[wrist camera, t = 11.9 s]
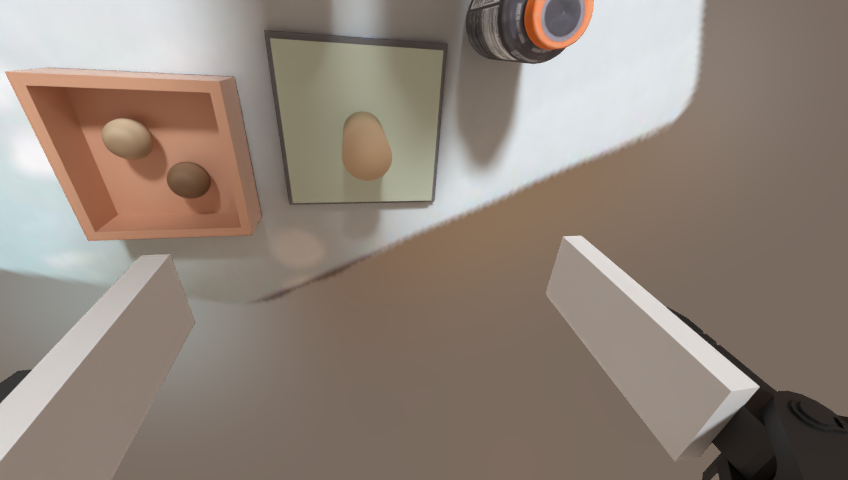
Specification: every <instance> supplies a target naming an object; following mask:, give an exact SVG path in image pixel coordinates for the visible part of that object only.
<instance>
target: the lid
mask: <svg viewBox="0 0 848 480" xmlns="http://www.w3.org/2000/svg"><path fill="white" fill-rule="evenodd" d="M270 43H271V50H272V57H273V64H274V71H275V78H276V86H277V93H278V100H279V107H280V114H281V121H282V129H283V136H284V143H285V150H286V157H287V164H288V172H289V179H290V186H291V193H292V200H293V203H327V202H380V201H432V188H433V176H434V163H435V150H436V138H437V125H438V112H439V100H440V87H441V75H442V62H443V50H431V49H417V48H403V47H388V46H374V45H360V44H346V43H331V42H317V41H303V40H289V39H274V38H270Z"/></svg>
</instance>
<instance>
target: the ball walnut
mask: <svg viewBox="0 0 848 480" xmlns="http://www.w3.org/2000/svg"><path fill="white" fill-rule="evenodd" d="M167 184H168V186H169V188H170V189H171V190H172V191H173V192H174V193H175V194H176V195H178V196H180V197H183V198H188V199H194V198H198V197H201V196H203V195H204V194H205V193H207V191H208V190H209V188H210V185H211V179H210V176H209V174H208V172H207V171H206V170H205V169H204V168H203V167H202V166H200V165H198V164H196V163H193V162H180V163H177V164H175V165H174V166H172V167H171V168H170V169H169V171H168V173H167Z"/></svg>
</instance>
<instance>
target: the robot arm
mask: <svg viewBox="0 0 848 480" xmlns="http://www.w3.org/2000/svg"><path fill="white" fill-rule="evenodd" d="M546 295H547V297H548V298H549V299H550V301H551V302H552V303H553V304H554V306H555V307H556V308H557V309H558V311H559V312H560V313H561V315H562V316H563V317H564V319H565V320H566V321H567V323H568V324H569V325H570V326H571V328H572V329H573V330H574V332H575V333H576V334H577V335H578V337H579V338H580V339H581V341H582V342H583V343H584V344H585V346H586V347H587V348H588V350H589V351H590V352H591V354H592V355H593V356H594V357H595V359H596V360H597V361H598V363H599V364H600V365H601V366H602V368H603V369H604V370H605V372H606V373H607V374H608V375H609V377H610V378H611V379H612V381H613V382H614V383H615V384H616V386H617V387H618V388H619V390H620V391H621V392H622V394H623V395H624V396H625V397H626V399H627V400H628V401H629V403H630V404H631V405H632V407H633V408H634V409H635V410H636V412H637V413H638V414H639V416H640V417H641V418H642V419H643V421H644V422H645V423H646V425H647V426H648V427H649V428H650V429H651V431H652V432H653V434H654V435H655V436H656V437H657V439H658V440H659V441H660V443H661V444H662V445H663V447H664V448H665V449H666V450H667V452H668V453H669V454H670V456H671V457H672V458H673V460H674V461H675V462H676V461H681V460H685V459H690V458H695V457H700V456H701V455H702V454H703V453H704V451H705V450H706V449H707V448H708V447H709V445H710V444H711V443H713V444H714V445H715V446H716V447H717V448H718V449H719V450H720V451H721V454H720V455H719V456H718V457H717V458H716V459H715V460H714V461H713V462H712V464H711V465H710V466H709V467H708V468H707V469H706V470H705V471H704V472H703V478H702V480H711V479H712V477H713V476H714V475H715V474H716V473H718V474H719V480H848V417H844V416H838V415H836V414H835V413H834V412H833V411H831V410H830V409H828V408H827V407H825V406H823V405H822V404H820V403H819V402H817V401H815V400H812V399H810V398H808V397H806V396H804V395H802V394H798V393H794V392H790V391H778V392H777V391H775V390H774V389H773V388H771V387H770V386H769V385H768V384H767V383H765V382H764V381H763V380H762V379H760V378H759V377H758V376H757V375H756V374H754V373H753V372H752V371H751V370H749V369H748V368H747V367H746V366H745V365H743V364H742V363H741V362H740V361H739V360H737V359H736V358H735V357H733V355H731V354H730V353H729V352H727V351H726V350H725V349H724V348H723V347H722V346H720V345H717V344H716V341H714V340H713V339H712V338H711V337H709V336H708V335H707V334H704V333H703V331H702V330H701V329H700V328H698V327H697V326H696V325H695V324H694V323H693V322H691V321H690V320H689V319H688V318H686V317H684V316H682V315H681V314H679V313H677V312H675V311H674V310H672V309H670V308H668V307H665V306H664V305H663V304H661V303H660V302H659V301H658V300H657V299H655V298H654V297H653V296H652V295H651V294H650V293H648V292H647V291H646V290H644V288H642V287H641V286H640V285H639V284H638V283H637V282H635V281H634V280H633V279H632V278H631V277H629V276H628V275H627V274H626V273H625V272H624V271H622V270H621V269H620V268H619V267H618V266H616V265H615V264H614V263H613V262H612V261H610V260H609V259H608V258H607V257H606V256H605V255H603V254H602V253H601V252H600V251H599V250H597V249H596V248H595V247H594V246H593V245H592V244H590V243H589V242H588V241H587V240H586V239H584V238H583V237H582V236H566V237H563V239H562V242H561V246H560V249H559V252H558V255H557V258H556V262H555V265H554V268H553V272H552V274H551V278H550V281H549V284H548V288H547V291H546ZM194 324H195V320H194V317H193V315H192V312H191V309H190V307H189V304H188V301H187V298H186V296H185V293H184V290H183V288H182V285H181V282H180V279H179V277H178V274H177V271H176V268H175V266H174V263H173V260H172V258H171V255H170V254H159V255H141V256H140V257H139V258H138V259H137V260H136V261H135V262H134V263H133V264H132V265H131V266H130V267H129V269H128V270H127V271H126V272H125V273H124V274H123V275H122V276H121V277H120V278H119V279H118V280H117V281H116V282H115V283H114V284H113V285H112V286H111V287H110V289H109V290H108V291H107V292H106V293H105V294H104V295H103V296H102V297H101V298H100V299H99V300H98V301H97V302H96V303H95V304H94V306H92V308H91V309H90V310H89V311H88V312H87V313H86V314H85V315H84V316H83V317H82V318H81V319H80V320H79V321H78V322H77V323H76V325H74V327H73V328H72V329H71V330H70V331H69V332H68V333H67V334H66V335H65V336H64V337H63V338H62V339H61V340H60V341H59V343H57V344H56V345H55V347H54V348H53V349H52V350H51V351H50V352H49V353H48V354H47V355H46V356H45V357H44V358H43V359H42V360H41V361H40V362H39V363H38V364H37V365H36V367H35V368H34V369H33V370H22V371H17V372H16V373H14V374H13V375H11V376H10V377H8V378H7V379H6V380H4V381H2V382H1V383H0V480H111V479H112V477H113V475H114V473H115V471H116V469H117V468H118V466H119V464H120V462H121V460H122V458H123V456H124V454H125V453H126V451H127V449H128V447H129V445H130V443H131V441H132V440H133V438H134V436H135V434H136V432H137V430H138V428H139V426H140V424H141V423H142V421H143V419H144V417H145V415H146V413H147V412H148V410H149V407H150V406H151V404H152V402H153V400H154V398H155V397H156V394H157V392H158V390H159V389H160V387H161V385H162V383H163V382H164V380H165V378H166V376H167V374H168V372H169V370H170V368H171V367H172V365H173V363H174V361H175V359H176V357H177V355H178V354H179V352H180V350H181V348H182V346H183V344H184V342H185V340H186V338H187V337H188V335H189V333H190V331H191V329H192V327H193V325H194Z"/></svg>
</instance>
